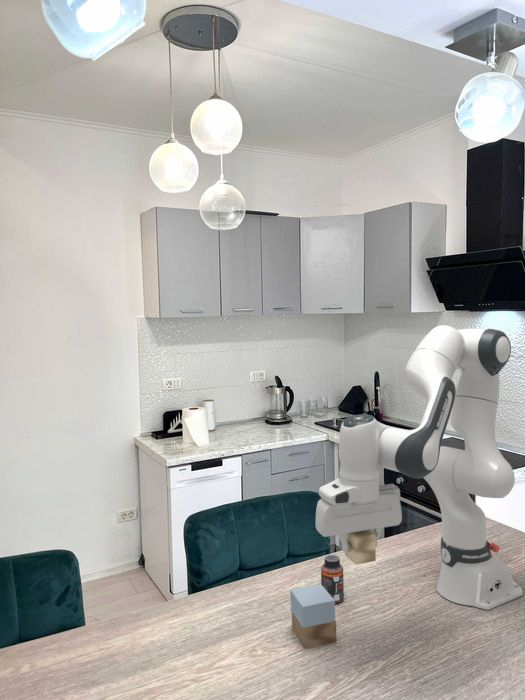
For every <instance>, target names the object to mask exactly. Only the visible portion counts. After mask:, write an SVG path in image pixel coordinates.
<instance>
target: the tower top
mask: <svg viewBox="0 0 525 700" xmlns="http://www.w3.org/2000/svg"><path fill="white" fill-rule="evenodd" d="M290 611H291V613H292V612H293V614H294V615H295V617H296V618H297V620H298V621H299V623H300V624H301V626H302V627H303V628H306V627H311V626H316V625H320V624H325V623H330V622H334V621H336V604H335V600H334V599H333V598H332V597H331V595H330V594H329V593H328V592H327V591H326V590H325V588H324V587H323V586H322V585H321V583H320V584H319V583H318V584H314V585H309V586H303V587H297V588H292V589H290Z"/></svg>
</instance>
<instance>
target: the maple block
mask: <svg viewBox="0 0 525 700" xmlns="http://www.w3.org/2000/svg"><path fill="white" fill-rule="evenodd" d="M345 539H346V541H348V542H349V543H351V544H352V547H351V549H352V551H350V552H344V556H345V557H346V558H347V559H349V560H350V561H351V562H352V563H353V564H354V565H361V564H367V563H373V562H377V561H376V559H377V557H376V553H377V551H376V550H377V549H376V548H377V547H376V542H375V534H374V533H373V531H372V530H365V531H359V532H352V533H347V538H345Z"/></svg>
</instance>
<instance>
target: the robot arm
mask: <svg viewBox="0 0 525 700" xmlns="http://www.w3.org/2000/svg"><path fill="white" fill-rule="evenodd" d="M511 353H512V345H511V341H510V339H509V337H508V335H507V334H506V332H504V331H502V330H499V329H493V328H487V329H485V328H473V327H472V328H464V329H457V328H455V327H454V326H453V327H452V326H451V325H444V324H443V325H437V326H435V327H433V328H432V329H431V330H430V331H429V332H427V334H426V335H425V336H424V337H423V339H422V340H421V341H420V342H419V344H418V345H417V347H416V348H415V350H414V351H413V353H412V354H411V356H410V358H409V359H408V361H407V363H406V366H405V370H404V372H405V378H406V381H407V383H408V385H409V386H410V387H411V389H412V390H413V391H414V392H415V393H417V394H418V395H419V396H420V397H422V398H424V399H426V400H427V401H428V403H427V405H426V408H425V410H424V413H423V416H422V419H421V422H420V425H419V426H418V427H417V428H415V429H406V428H405V429H404V428H399V427H395V426H390V425H386V424H384V423H381V422H380V421H378V420H377V419H376V418H375V417H374V416H373V415H371V414H366V413H365V414H364V413H363V414H362V413H361V414H353V415H350V416H348V417H346V418H344V419H343V421H342V422H341V426H340V428H339V429H340V430H339V434H338V435H339V437H338V457H339V461H340V467H339V473H338V478H335V479H334V480H332V481H330V482H328V483H326V484H324V485H322V486H320V487H319V489H318V494H319V496H320V497H321V498H320V499H319V500H318V501H317V505H316V508H315V509H316V510H315V528H316V531H317V532H318V533H319V534H320V535H321V536H322V537H324V538H326V537H332V536H337V537H338V538H339V540H340V542H341V547H342V548H341V549H342V551H343V552H344V553H345V552H350V551H352V549H351V547H352V544H351V543H349V542H348V541H346V539H345V538H347V533H352V532H359V531H365V530H370V531H372V532H373V533H374V534H375V542H376V548H378V540H379V538H380V536H381V535H382V532H383V528H389V527H395V526H399V525H401V523H402V520H403V514H402V505H401V500H400V499H401V490H400V488H399V487H398V486H397V485H395V484H394V483H388V484H381V485H380V472H379V468H384V469H387V470H390V471H394V472H396V473H397V472H398V473H400V474H403V475H404V476H407V477H410V478H412V479H415V480H417V479H419V480H420V479H424V480H425V481H426V482H427V483H428V485H429V486H430V488H431V489H432V491H433V493H434V495H435V497H436V500H437V502H438V504H439V508H440V512H441V513H440V514H441V525H442V526H441V529H442V530H441V531H442V533H441V535H442V536H441V537H440V556H441V563H440V571H439V576H438V579H437V584H436V586H435V588H436V591H437V592H438V594H439V595H440V596H441V597H443V598H444V599H446V600H449V601H450V602H453V603H456V604H459V605H464V606H471V607H475V608H479V609H482V610H484V611H485V610H486V611H488V610H489V611H490V610H492V609H494V608H496V607H499V606H501V605H503V604H506V603H508V602H510V601H513V600H515V599H517V598H520V597H522V596H523V595H524V591H523V589H522V587H521V586H520V585H519V584H518V583H517V582H516V581H514V577H513V574H512V571H511V569H510V568H509V567H508V565H506V564H505V563H504V562H503V561H501V560H500V559H499V558H497V557H496V556H495V555H494V554H492V552H493V553H496V554H497V553H498V552H499V551H500V546H499V545H497V544H495V542H491V543H490V542H489V541H488V540H487V518H486V517H487V516H486V515H485V512H484V511H483V510H482V508H481V507H479V505H477V504H476V502H475V501H474V500H473V498H471V495H473V496H476V497H480V498H489V499H504V498H506V497H507V496H508V495H509V494H510V493H511V491H512V490H513V488H514V485H515V478H516V477H515V472H514V469H513V468H512V465H511V464H510V463H509V462H508V461H507V459H506V458H504V455H503V454H502V453H501V451H500V449H499V446H498V444H497V440H496V420H497V412H498V405H499V399H500V385H501V384H500V383H501V382H500V372H501V371H502V369H503V368H504V367H506V365H507V363H508V362H509V360H510V358H511ZM457 370H460V372H461V373H460V376H459V379H458V382H457V386H456V385H455V383H454V381H453V380H452V379H453V376H454V374H455V373H456V371H457ZM449 420H450V424H451V426H452V428H453V430H454V431H455V432H456V433H458V435H460V436H461V437H462V438H463V441H464V449H461V448H455V447H450V446H443V445H442V442H443V438H444V435H445V432H446V429H447V425H448V423H449ZM470 494H471V495H470ZM491 551H492V552H491Z"/></svg>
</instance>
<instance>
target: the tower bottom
mask: <svg viewBox="0 0 525 700" xmlns="http://www.w3.org/2000/svg"><path fill="white" fill-rule="evenodd" d="M291 630H292V632H293V633H294V635H295V636H296V638H297V639H298V641H299V643H300V644H301V646H302V647H303V648H304V650H305V649H306V650H307V649H309V648H310V649H311V648H315V647H319V646H323V645H328V644H331V643H336V642H337V621H336V620H335V621H334V622H330V623H325V624H320V625H316V626H311V627H306V628H303V627H302V626H301V624H300V623H299V621H298V620H297V618H296V617H295V615H294V614H293V612H292V611H291Z"/></svg>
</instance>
